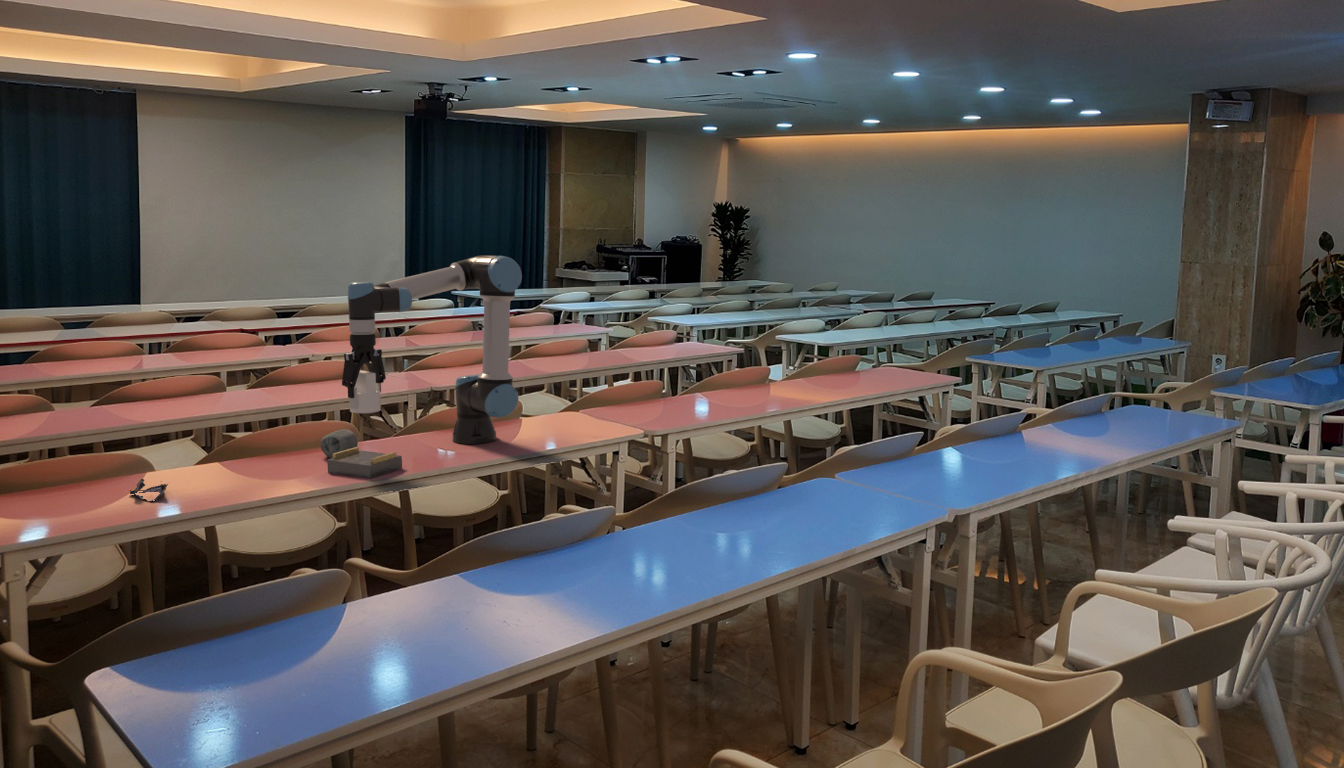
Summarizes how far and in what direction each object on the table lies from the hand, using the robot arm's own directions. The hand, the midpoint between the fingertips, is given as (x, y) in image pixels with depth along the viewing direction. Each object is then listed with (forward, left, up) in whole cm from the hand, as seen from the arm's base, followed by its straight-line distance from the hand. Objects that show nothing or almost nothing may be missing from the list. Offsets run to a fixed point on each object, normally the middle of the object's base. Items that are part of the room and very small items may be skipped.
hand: (365, 405), depth 306 cm
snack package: (+51, -33, -20) cm, 64 cm away
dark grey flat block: (+2, +1, -20) cm, 20 cm away
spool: (-10, -21, -20) cm, 31 cm away
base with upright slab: (0, 0, -2) cm, 2 cm away
